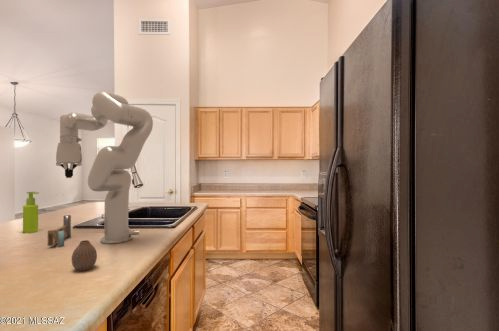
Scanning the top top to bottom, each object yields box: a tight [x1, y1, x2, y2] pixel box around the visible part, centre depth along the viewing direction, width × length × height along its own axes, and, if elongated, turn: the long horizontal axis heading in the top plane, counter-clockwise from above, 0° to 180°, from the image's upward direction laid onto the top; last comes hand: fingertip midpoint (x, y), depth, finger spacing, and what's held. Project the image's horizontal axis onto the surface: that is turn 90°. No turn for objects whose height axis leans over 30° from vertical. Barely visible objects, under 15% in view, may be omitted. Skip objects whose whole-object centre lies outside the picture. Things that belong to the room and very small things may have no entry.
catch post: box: [57, 231, 65, 248], centre depth 111 cm, size 2×2×6 cm
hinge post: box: [62, 214, 72, 239], centre depth 125 cm, size 3×3×10 cm
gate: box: [47, 225, 67, 247], centre depth 115 cm, size 15×2×6 cm, turn 15°
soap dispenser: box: [22, 191, 40, 234], centre depth 135 cm, size 6×7×20 cm
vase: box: [71, 239, 98, 272], centre depth 87 cm, size 7×7×9 cm
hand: (69, 177), depth 134 cm, fingers closed
